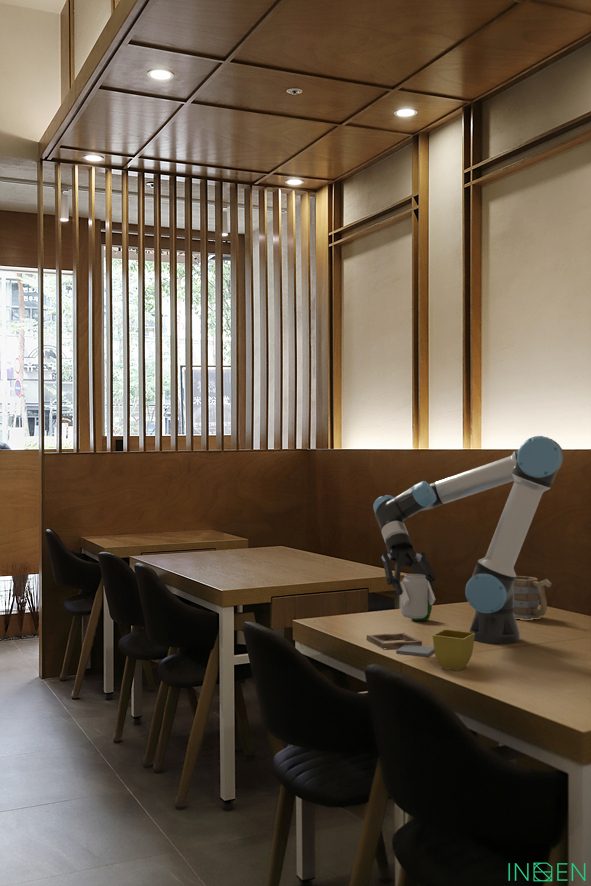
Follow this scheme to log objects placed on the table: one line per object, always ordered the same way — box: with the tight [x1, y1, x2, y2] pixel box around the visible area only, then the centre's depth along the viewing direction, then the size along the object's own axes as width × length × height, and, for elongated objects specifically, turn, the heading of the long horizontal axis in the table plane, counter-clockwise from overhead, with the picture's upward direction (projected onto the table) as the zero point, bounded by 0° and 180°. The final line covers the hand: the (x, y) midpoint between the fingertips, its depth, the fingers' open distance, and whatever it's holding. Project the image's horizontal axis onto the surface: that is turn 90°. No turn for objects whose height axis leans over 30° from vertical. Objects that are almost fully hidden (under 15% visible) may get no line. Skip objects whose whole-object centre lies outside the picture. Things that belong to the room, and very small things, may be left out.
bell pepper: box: [410, 601, 433, 622], centre depth 285 cm, size 8×8×10 cm
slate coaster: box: [395, 645, 435, 657], centre depth 236 cm, size 9×9×1 cm
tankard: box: [514, 575, 553, 619], centre depth 290 cm, size 20×13×15 cm, turn 25°
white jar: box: [400, 573, 428, 619], centre depth 237 cm, size 8×8×12 cm
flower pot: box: [432, 629, 475, 672], centre depth 218 cm, size 9×9×9 cm
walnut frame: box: [366, 632, 423, 650], centre depth 247 cm, size 12×12×2 cm
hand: (419, 602), depth 233 cm, fingers closed on white jar, 7 cm apart
